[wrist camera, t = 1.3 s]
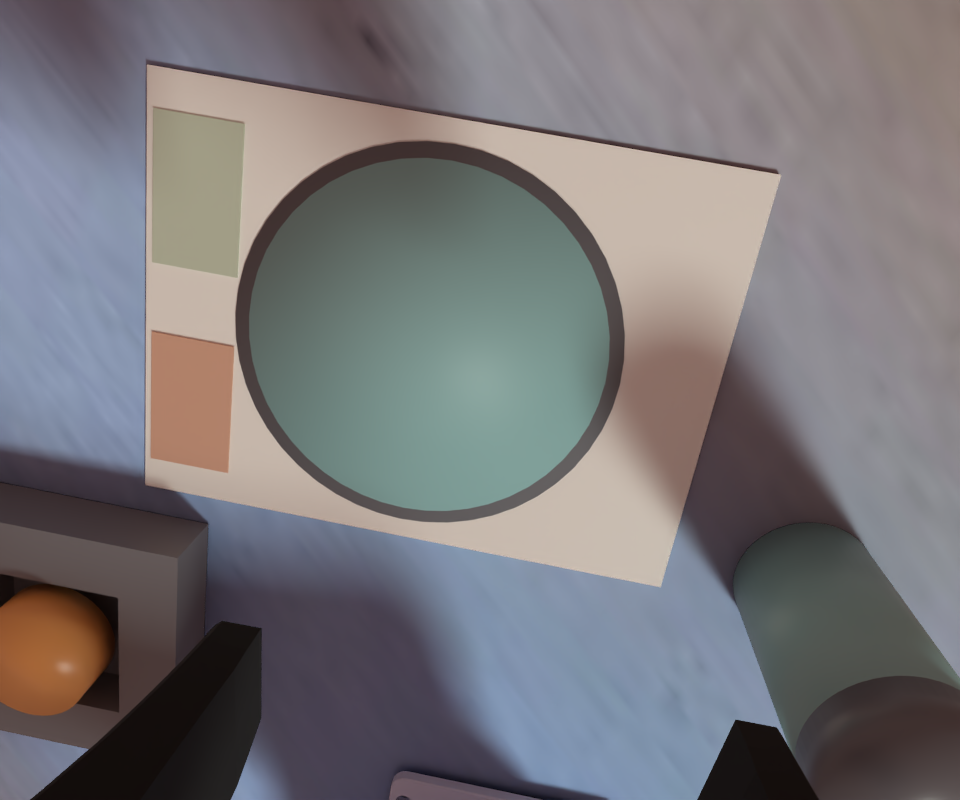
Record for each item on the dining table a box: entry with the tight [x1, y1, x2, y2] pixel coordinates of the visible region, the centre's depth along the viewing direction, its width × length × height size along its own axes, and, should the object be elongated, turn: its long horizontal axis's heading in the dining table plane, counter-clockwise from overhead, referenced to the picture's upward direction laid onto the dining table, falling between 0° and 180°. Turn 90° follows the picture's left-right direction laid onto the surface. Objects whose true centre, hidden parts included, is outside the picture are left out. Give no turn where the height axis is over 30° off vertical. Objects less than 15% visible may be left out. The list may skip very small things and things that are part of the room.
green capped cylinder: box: [733, 523, 960, 800], centre depth 18 cm, size 4×4×8 cm
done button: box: [0, 584, 115, 716], centre depth 23 cm, size 4×4×2 cm
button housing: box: [0, 483, 208, 749], centre depth 24 cm, size 8×8×2 cm
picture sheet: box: [145, 64, 781, 587], centre depth 21 cm, size 12×16×1 cm
